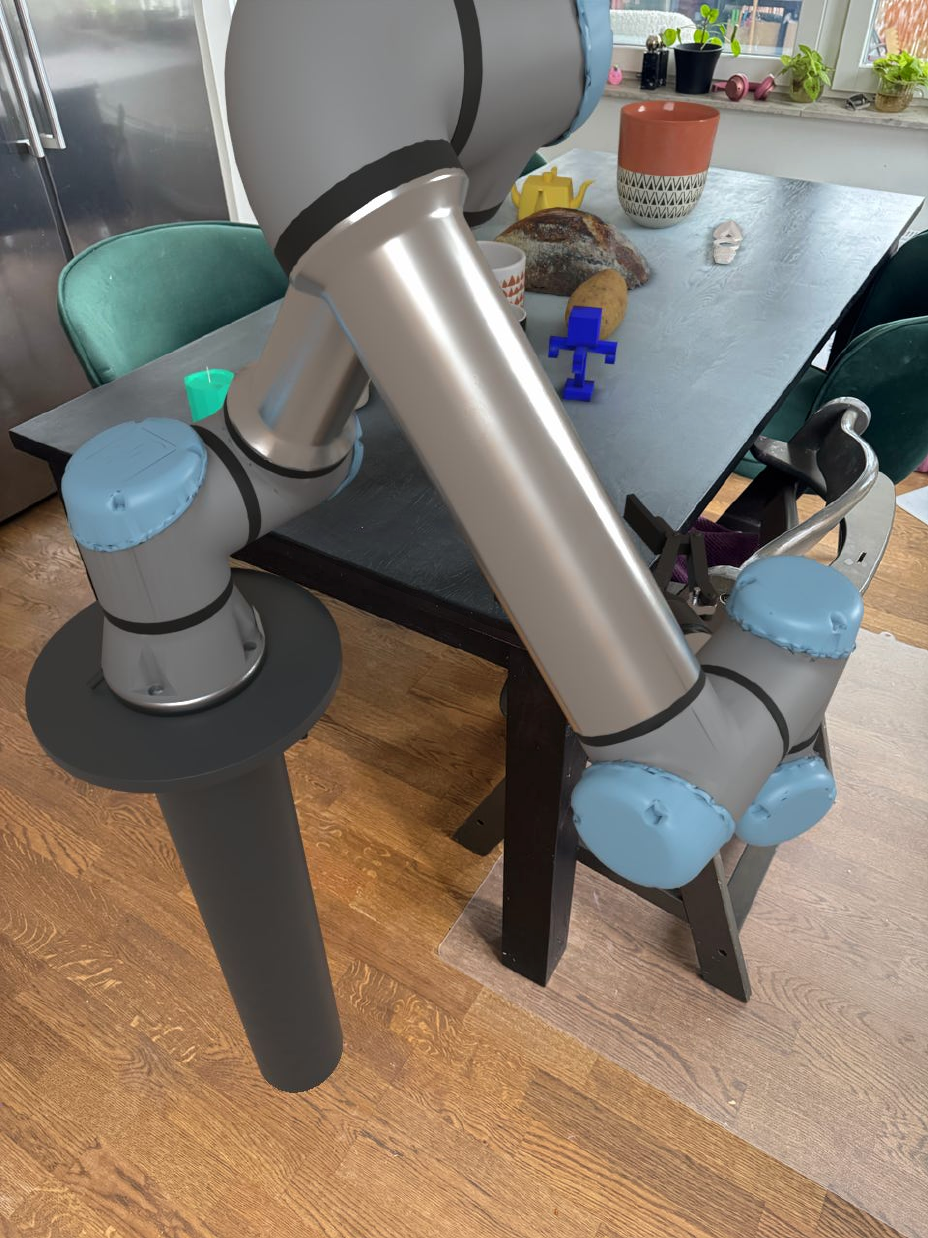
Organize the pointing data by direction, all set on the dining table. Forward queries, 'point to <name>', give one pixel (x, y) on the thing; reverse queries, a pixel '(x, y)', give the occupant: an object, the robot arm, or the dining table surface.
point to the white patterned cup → (506, 268)
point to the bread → (572, 250)
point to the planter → (664, 159)
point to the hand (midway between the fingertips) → (564, 518)
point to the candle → (207, 391)
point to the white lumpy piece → (723, 252)
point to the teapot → (546, 193)
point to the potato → (602, 299)
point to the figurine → (582, 349)
